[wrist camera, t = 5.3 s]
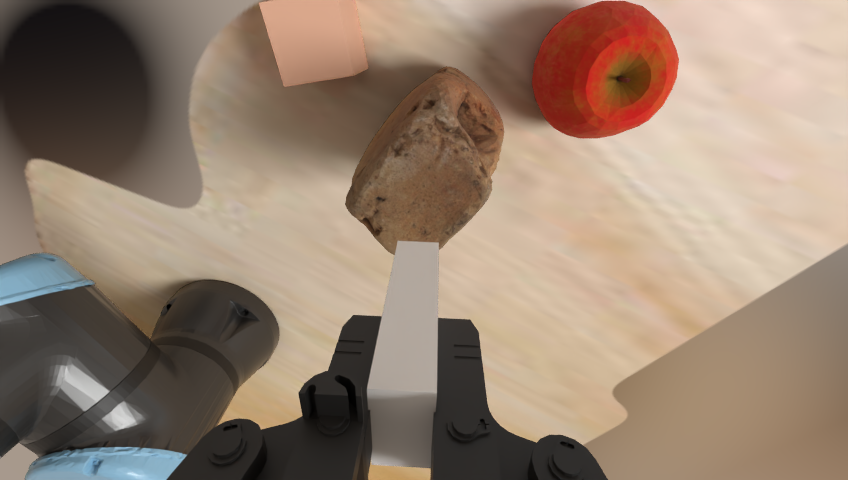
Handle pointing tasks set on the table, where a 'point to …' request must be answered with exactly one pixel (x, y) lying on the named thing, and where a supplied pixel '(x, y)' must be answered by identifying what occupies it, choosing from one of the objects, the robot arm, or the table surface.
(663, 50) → the apple
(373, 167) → the brown long irregular lump
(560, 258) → the table surface
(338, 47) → the terracotta block
